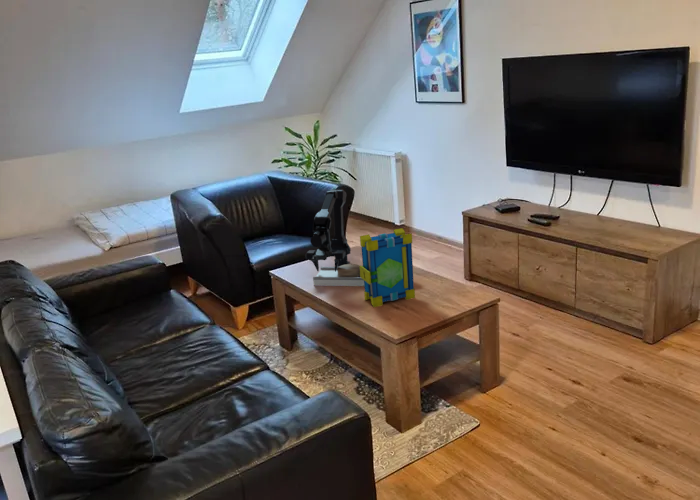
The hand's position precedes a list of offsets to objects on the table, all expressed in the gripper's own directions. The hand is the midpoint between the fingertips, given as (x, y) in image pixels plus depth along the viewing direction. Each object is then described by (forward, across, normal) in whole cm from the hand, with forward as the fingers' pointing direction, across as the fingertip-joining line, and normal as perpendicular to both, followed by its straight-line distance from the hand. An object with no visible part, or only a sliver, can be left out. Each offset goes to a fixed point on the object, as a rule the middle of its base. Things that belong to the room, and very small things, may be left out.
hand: (326, 271), depth 310 cm
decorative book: (+5, +35, -22) cm, 42 cm away
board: (+5, +10, 0) cm, 11 cm away
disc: (+2, +11, 0) cm, 11 cm away
